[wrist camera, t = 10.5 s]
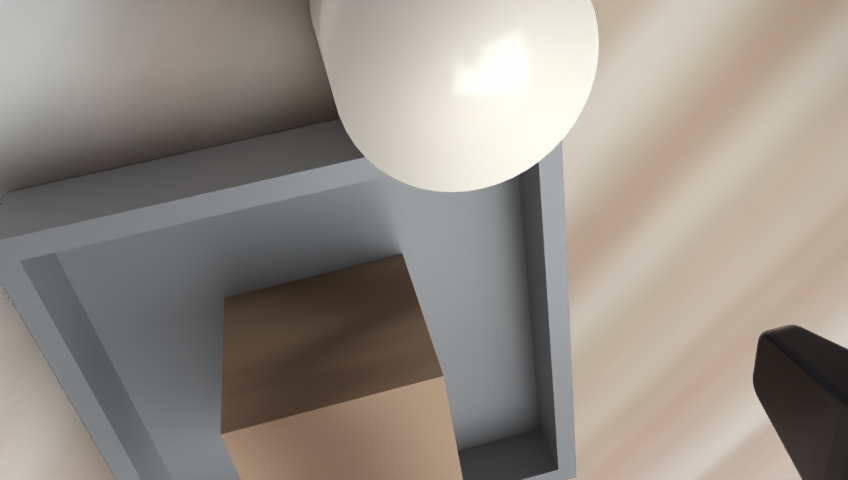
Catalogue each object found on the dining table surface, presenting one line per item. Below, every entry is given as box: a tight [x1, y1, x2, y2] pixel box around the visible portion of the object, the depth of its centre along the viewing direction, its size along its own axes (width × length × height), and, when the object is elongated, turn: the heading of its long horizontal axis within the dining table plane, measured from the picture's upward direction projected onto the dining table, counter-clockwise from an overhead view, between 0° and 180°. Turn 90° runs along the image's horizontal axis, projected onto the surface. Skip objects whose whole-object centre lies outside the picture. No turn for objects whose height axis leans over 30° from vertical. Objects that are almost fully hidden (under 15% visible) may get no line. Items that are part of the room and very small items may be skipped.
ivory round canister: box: [309, 0, 599, 192], centre depth 16 cm, size 5×5×5 cm
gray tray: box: [0, 119, 576, 480], centre depth 21 cm, size 13×13×2 cm
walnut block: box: [220, 254, 463, 480], centre depth 20 cm, size 5×5×5 cm
